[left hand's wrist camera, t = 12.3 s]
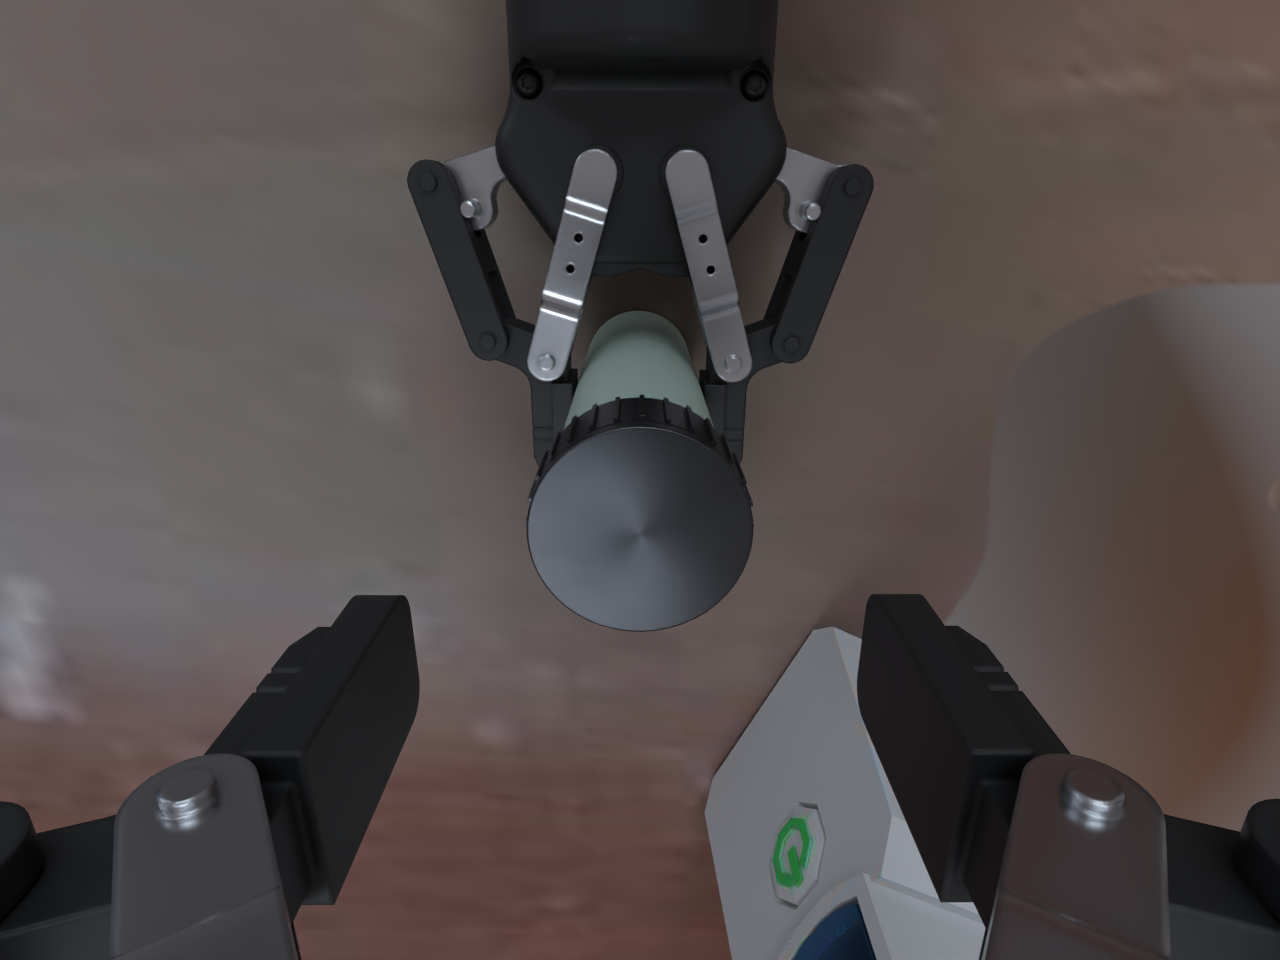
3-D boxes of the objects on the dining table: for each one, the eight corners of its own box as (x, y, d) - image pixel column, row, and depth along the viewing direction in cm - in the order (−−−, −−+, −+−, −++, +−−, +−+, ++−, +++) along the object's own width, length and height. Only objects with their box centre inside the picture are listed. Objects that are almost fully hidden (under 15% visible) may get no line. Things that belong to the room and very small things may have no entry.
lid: (496, 459, 17) (476, 497, 15) (677, 353, 16) (683, 377, 14) (606, 614, 18) (602, 669, 16) (777, 524, 17) (797, 570, 15)
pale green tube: (567, 344, 30) (498, 494, 15) (656, 290, 30) (677, 390, 14) (621, 429, 32) (607, 644, 16) (707, 379, 31) (776, 557, 16)
